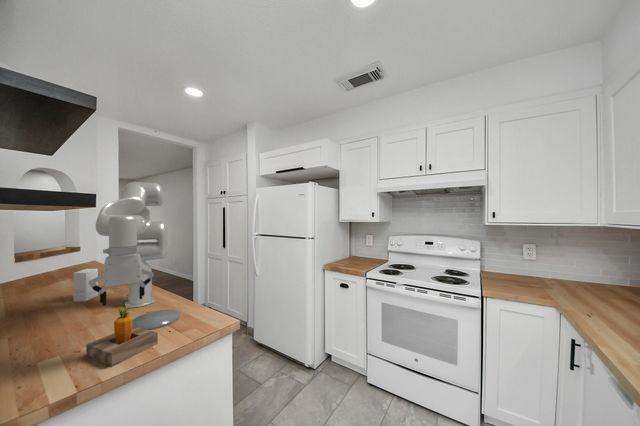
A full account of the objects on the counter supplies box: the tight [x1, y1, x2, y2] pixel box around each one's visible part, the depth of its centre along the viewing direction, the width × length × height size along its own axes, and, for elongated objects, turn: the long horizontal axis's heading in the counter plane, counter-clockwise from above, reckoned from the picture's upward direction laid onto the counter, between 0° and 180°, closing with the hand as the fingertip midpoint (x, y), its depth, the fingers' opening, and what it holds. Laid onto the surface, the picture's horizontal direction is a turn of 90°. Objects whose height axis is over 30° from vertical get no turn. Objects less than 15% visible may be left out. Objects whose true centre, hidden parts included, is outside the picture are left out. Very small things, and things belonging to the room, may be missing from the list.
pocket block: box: [85, 326, 159, 368], centre depth 82 cm, size 14×14×4 cm
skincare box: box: [73, 268, 99, 302], centre depth 130 cm, size 8×7×16 cm
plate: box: [132, 309, 181, 331], centre depth 104 cm, size 18×18×1 cm
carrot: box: [113, 306, 134, 345], centre depth 82 cm, size 5×5×15 cm
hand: (123, 301), depth 82 cm, fingers open, 9 cm apart
